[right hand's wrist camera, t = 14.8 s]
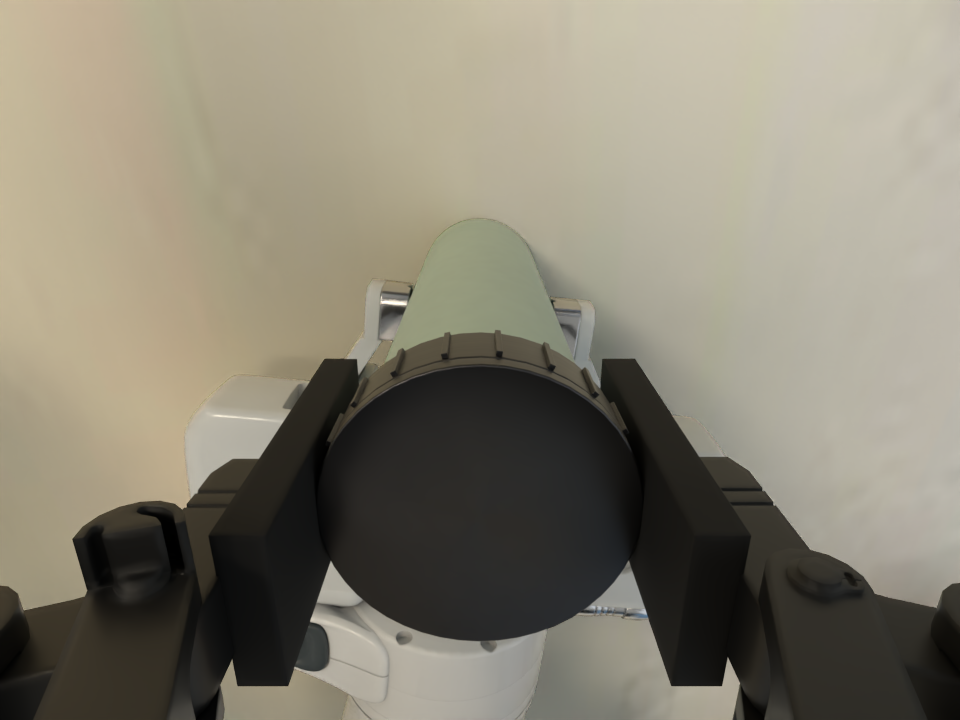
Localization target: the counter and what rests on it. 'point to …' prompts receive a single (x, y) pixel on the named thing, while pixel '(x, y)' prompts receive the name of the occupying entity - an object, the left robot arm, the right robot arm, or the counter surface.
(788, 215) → the counter surface
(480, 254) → the pale green bottle
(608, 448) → the lid
